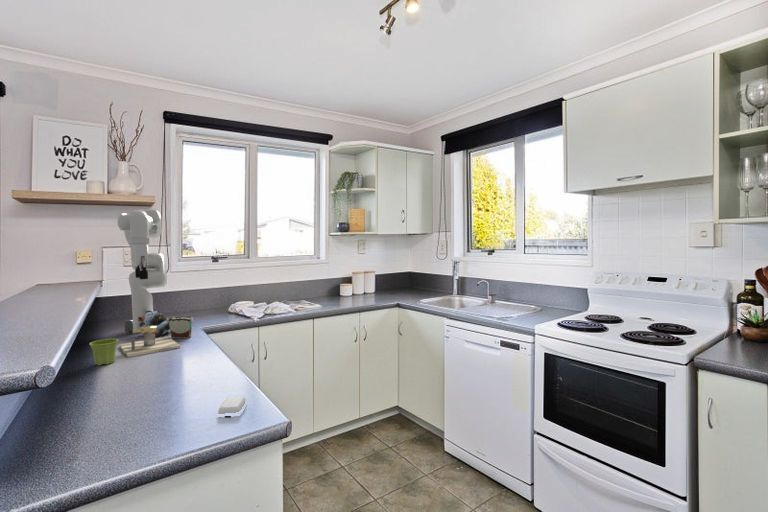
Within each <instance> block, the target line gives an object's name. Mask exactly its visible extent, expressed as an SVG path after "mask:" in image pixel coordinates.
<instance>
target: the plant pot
mask: <svg viewBox="0 0 768 512" xmlns="http://www.w3.org/2000/svg"><path fill="white" fill-rule="evenodd" d="M118 341H119V339H118V338H105V339H99V340H95V341H94V340H93V341H92V342H89V344H88V345H89V346H90V349H92V353H93V357H94V358H93V359H94V363H95V365H96V364H97V365H96V366H101V365H102V364H107V365H110V364H109V363H111V364H113V363H114V362H115V360H116V353H117V352H116V349H117V345H118ZM112 362H113V363H112Z"/></svg>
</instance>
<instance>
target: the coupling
mask: <svg viewBox="0 0 768 512" xmlns="http://www.w3.org/2000/svg"><path fill="white" fill-rule="evenodd" d="M123 323H124V335H125V336H131V335H134V334H136V333H137V334H139V333H141V334H143V333H152V332H156V331H157V326H155V325H151V326H144V327H141V329H134V330H133V319H127V320H126V319H125V320H124V322H123Z"/></svg>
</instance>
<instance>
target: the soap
mask: <svg viewBox="0 0 768 512" xmlns="http://www.w3.org/2000/svg"><path fill="white" fill-rule="evenodd" d="M245 401H246V397H243V396H241V397H240V396H239V397H237V396H236V397H235V396H234V397H227V398H226V399H225V400H224V401H223V402H222V404H220V406H219V408H218V411H217V414H225V413H236V412H239V411H240V410H241V409H242V407H243V406H244V404H245ZM246 402H247V401H246Z"/></svg>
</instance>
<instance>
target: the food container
mask: <svg viewBox="0 0 768 512" xmlns="http://www.w3.org/2000/svg"><path fill="white" fill-rule="evenodd" d="M167 318H168V322H169V326H170V329H169V332H170V338H171V339H191V337H192V329H193V328H192V326H193V322H194V318H193V316H192V315H187V314H186V315H175V316H174V315H173V316H169V317H167Z"/></svg>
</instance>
